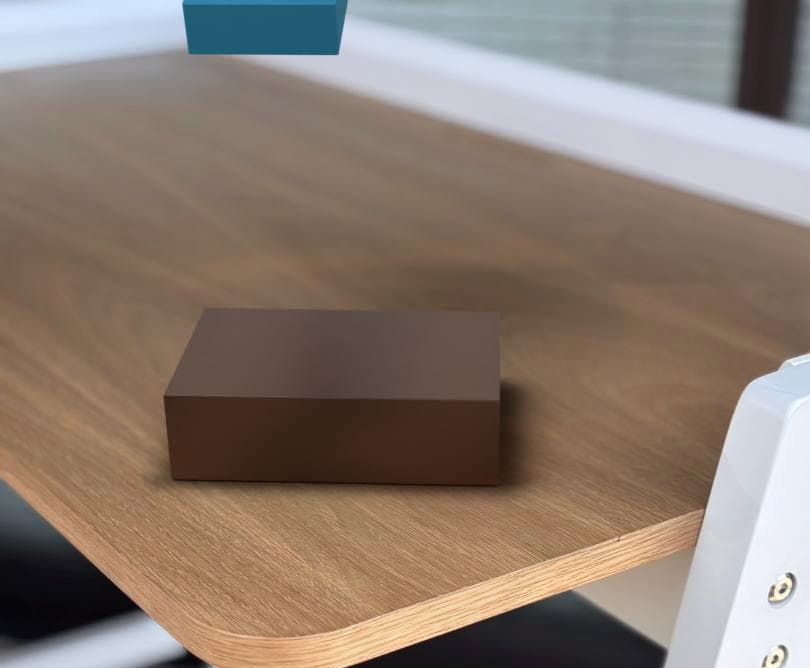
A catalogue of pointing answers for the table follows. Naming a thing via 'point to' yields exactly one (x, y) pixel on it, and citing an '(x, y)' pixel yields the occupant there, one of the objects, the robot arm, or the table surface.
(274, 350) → the walnut block
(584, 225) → the table surface
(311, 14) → the blue rectangular block
